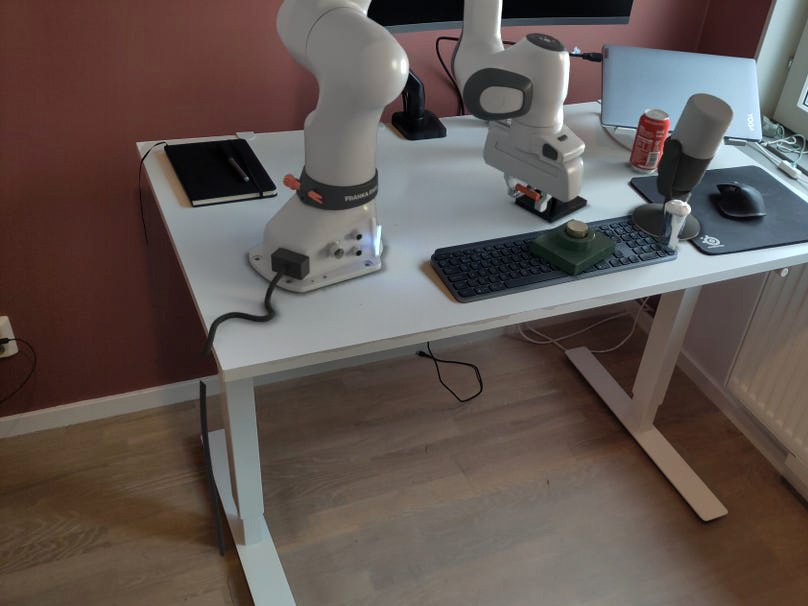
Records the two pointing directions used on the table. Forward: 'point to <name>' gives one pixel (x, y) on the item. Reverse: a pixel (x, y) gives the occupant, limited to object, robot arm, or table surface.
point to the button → (576, 229)
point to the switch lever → (527, 191)
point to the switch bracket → (551, 206)
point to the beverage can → (649, 140)
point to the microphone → (686, 159)
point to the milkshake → (673, 223)
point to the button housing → (572, 249)
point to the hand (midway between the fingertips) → (526, 202)
